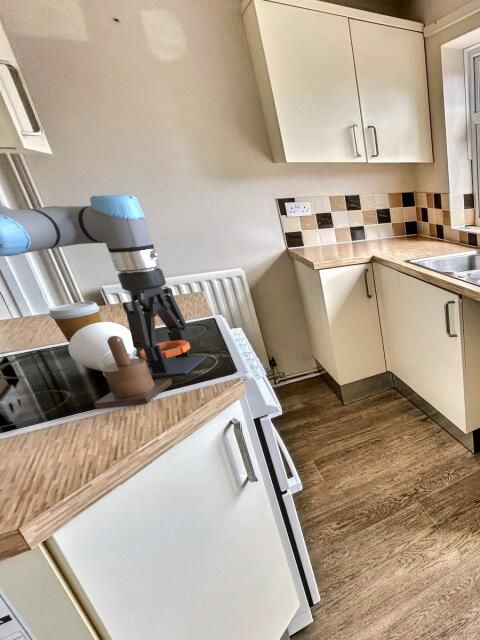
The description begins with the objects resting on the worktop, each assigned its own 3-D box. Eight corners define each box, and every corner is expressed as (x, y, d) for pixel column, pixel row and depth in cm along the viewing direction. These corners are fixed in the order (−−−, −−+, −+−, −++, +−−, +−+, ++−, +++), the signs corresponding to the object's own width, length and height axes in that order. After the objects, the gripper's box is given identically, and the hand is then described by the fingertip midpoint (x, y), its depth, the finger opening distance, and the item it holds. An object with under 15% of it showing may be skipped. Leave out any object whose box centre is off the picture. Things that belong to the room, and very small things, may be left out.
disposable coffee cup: (68, 348, 114) (49, 306, 110) (115, 339, 120) (98, 299, 115) (64, 358, 107) (43, 313, 103) (113, 349, 113) (96, 306, 108)
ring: (134, 361, 94) (132, 355, 93) (156, 347, 102) (155, 341, 101) (177, 357, 95) (175, 351, 95) (196, 344, 103) (194, 338, 103)
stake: (96, 408, 82) (68, 346, 77) (126, 387, 90) (103, 330, 86) (147, 403, 84) (123, 342, 79) (172, 383, 92) (152, 326, 87)
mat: (136, 379, 95) (136, 377, 94) (162, 361, 104) (161, 359, 104) (186, 374, 96) (185, 372, 96) (207, 357, 105) (206, 355, 105)
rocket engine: (126, 340, 88) (94, 312, 96) (82, 387, 84) (53, 354, 93) (178, 363, 97) (146, 336, 106) (141, 406, 94) (110, 375, 102)
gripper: (126, 279, 82) (164, 382, 90) (184, 260, 102) (211, 346, 110) (82, 281, 81) (124, 386, 89) (149, 262, 101) (179, 349, 109)
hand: (172, 364), depth 100 cm, fingers closed on ring, 9 cm apart
